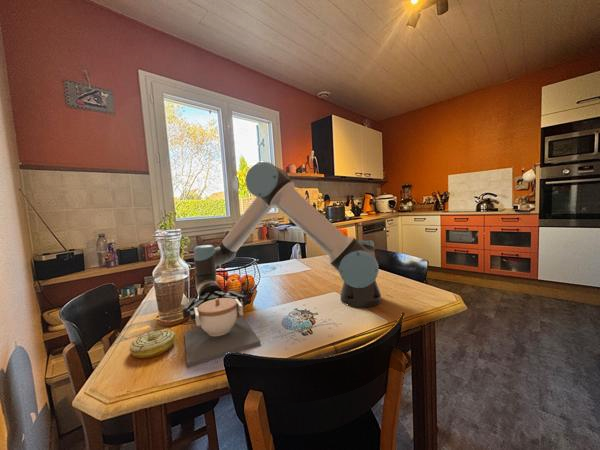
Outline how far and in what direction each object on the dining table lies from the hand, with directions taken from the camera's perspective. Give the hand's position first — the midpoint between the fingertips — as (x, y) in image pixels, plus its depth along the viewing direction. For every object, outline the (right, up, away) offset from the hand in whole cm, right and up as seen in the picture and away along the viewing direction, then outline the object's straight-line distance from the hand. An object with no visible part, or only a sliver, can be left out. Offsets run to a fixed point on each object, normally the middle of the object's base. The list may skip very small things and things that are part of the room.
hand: (220, 315), depth 65 cm
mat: (-1, -8, +4) cm, 9 cm away
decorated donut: (-19, -10, +1) cm, 21 cm away
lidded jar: (-2, -6, +4) cm, 8 cm away
